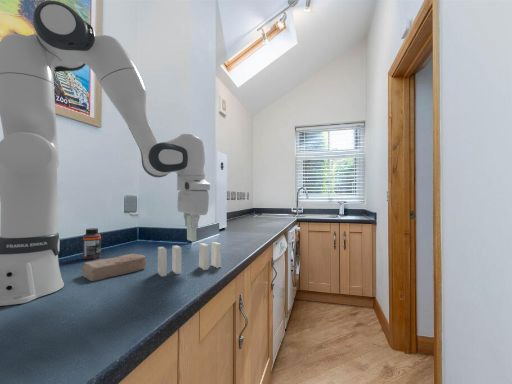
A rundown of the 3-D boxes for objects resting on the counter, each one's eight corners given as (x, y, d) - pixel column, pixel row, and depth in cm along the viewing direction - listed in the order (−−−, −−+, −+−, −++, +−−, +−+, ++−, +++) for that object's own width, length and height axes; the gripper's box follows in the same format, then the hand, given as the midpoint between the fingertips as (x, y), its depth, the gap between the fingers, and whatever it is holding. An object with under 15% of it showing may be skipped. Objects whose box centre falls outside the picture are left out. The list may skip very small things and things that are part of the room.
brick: (92, 282, 77) (92, 265, 77) (80, 276, 82) (81, 261, 82) (147, 270, 90) (147, 256, 90) (134, 266, 95) (134, 252, 95)
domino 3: (203, 270, 89) (204, 245, 89) (198, 266, 93) (199, 243, 93) (208, 269, 89) (208, 245, 90) (203, 266, 93) (203, 242, 93)
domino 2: (176, 274, 84) (176, 248, 84) (172, 270, 88) (172, 245, 88) (181, 273, 85) (181, 247, 85) (177, 270, 89) (177, 245, 89)
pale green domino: (191, 241, 87) (191, 216, 87) (186, 239, 90) (186, 215, 90) (196, 240, 87) (196, 215, 87) (191, 238, 91) (191, 215, 91)
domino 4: (216, 268, 91) (216, 244, 91) (211, 265, 95) (211, 242, 95) (221, 267, 92) (221, 243, 92) (215, 264, 96) (215, 241, 96)
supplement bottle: (86, 256, 107) (86, 227, 107) (103, 255, 108) (103, 227, 108) (79, 260, 101) (80, 229, 101) (97, 259, 103) (97, 229, 103)
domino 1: (161, 276, 81) (161, 249, 82) (157, 272, 85) (157, 247, 85) (166, 275, 82) (166, 249, 82) (162, 272, 86) (163, 246, 86)
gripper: (172, 185, 96) (173, 225, 96) (191, 184, 79) (192, 231, 79) (190, 186, 99) (190, 223, 99) (212, 184, 82) (212, 230, 82)
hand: (191, 227), depth 89 cm, fingers closed on pale green domino, 5 cm apart
